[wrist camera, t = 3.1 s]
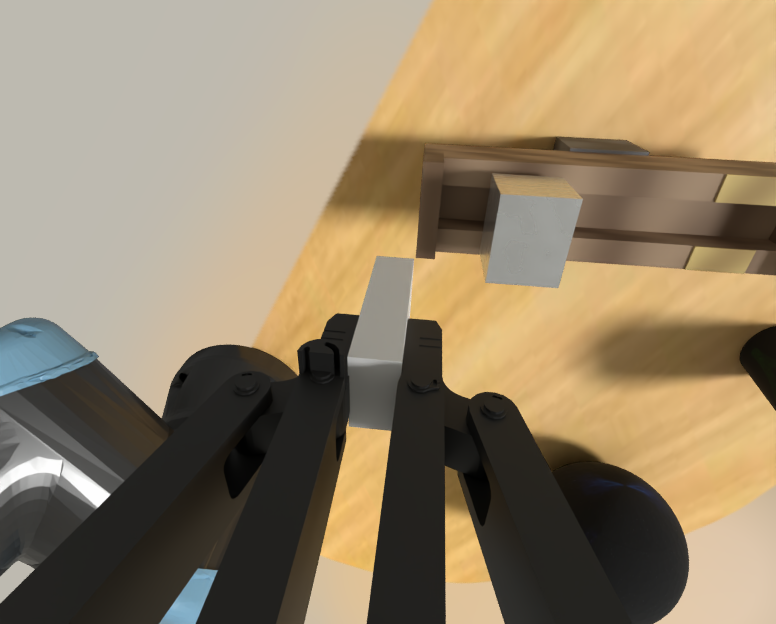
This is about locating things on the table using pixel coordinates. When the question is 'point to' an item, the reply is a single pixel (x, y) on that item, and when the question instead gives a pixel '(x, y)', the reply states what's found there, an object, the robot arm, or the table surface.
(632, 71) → the table surface
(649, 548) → the decorative sphere
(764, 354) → the cup
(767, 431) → the table surface
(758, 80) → the table surface
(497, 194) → the block
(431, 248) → the beam
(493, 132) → the table surface
